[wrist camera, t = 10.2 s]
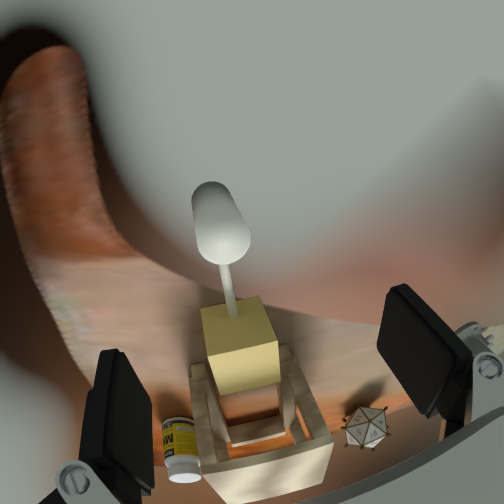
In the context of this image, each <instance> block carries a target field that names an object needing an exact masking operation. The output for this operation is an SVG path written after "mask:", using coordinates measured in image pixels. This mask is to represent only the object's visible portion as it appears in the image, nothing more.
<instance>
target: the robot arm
mask: <svg viewBox="0 0 504 504" xmlns="http://www.w3.org/2000/svg"><path fill="white" fill-rule="evenodd" d="M493 340H494V337H493V335H489V336H487V337H486V338H484V337H483V336H482V335H481V326H480V325H479V324H478V323H477V322H470V323H467V324H465V325H463V326H462V327H461V328H459V329H458V330H456V331H455V332H453V331H452V330H451V328H450V327H449V326H448V325H447V324H446V323H445V322H444V321H443V320H442V319H441V318H440V317H439V316H438V315H437V314H436V313H435V312H434V311H433V310H432V309H431V308H430V307H429V306H428V305H427V304H426V303H425V302H424V301H423V300H422V299H421V298H420V297H419V296H418V295H417V294H416V293H415V292H414V291H413V290H412V289H411V288H410V287H409V286H408V285H407V284H401V285H397V286H394V287H391V288H390V291H389V292H388V293H387V295H386V300H385V305H384V311H383V316H382V322H381V326H380V331H379V335H378V340H377V349H378V351H379V353H380V355H381V356H382V357H383V359H384V360H385V362H386V363H387V365H388V366H389V368H390V369H391V370H392V372H393V373H394V375H395V376H396V378H397V379H398V381H399V382H400V384H401V385H402V387H403V388H404V390H405V391H406V393H407V394H408V396H409V397H410V399H411V400H412V402H413V403H414V405H415V406H416V408H417V409H418V411H419V412H420V413H421V414H425V416H426V417H427V419H429V418H431V417H433V416H435V415H437V414H438V413H440V415H441V416H442V424H441V430H440V436H439V442H438V443H437V444H435V445H433V446H431V447H430V448H428V449H426V450H425V451H423V452H421V453H419V454H417V455H415V456H413V457H411V458H409V459H408V460H406V461H404V462H402V463H400V464H398V465H395V466H393V467H391V468H389V469H387V470H385V471H383V472H380V473H378V474H376V475H374V476H371V477H369V478H367V479H364V480H362V481H359V482H357V483H354V484H352V485H349V486H347V487H344V488H341V489H338V490H336V491H333V492H330V493H327V494H324V495H321V496H318V497H314V498H311V499H308V500H304V501H301V502H297V503H294V504H504V362H503V360H502V359H501V358H500V357H499V356H498V355H496V354H495V353H494V352H493V351H492V350H491V349H492V348H493V342H492V341H493ZM55 481H56V487H57V488H56V489H55V490H54V491H53V492H52V493H50V494H49V495H48V496H47V497H46V498H44V499H43V500H42V501H41V502H40V503H38V504H142V499H141V496H151V489H153V488H154V486H155V481H154V464H153V439H152V403H151V399H150V397H149V395H148V394H147V392H146V390H145V389H144V387H143V385H142V384H141V382H140V380H139V378H138V377H137V375H136V373H135V371H134V370H133V368H132V366H131V364H130V362H129V360H128V359H127V357H126V355H125V353H124V352H120V351H119V350H118V349H110V350H102V351H101V352H100V355H99V360H98V365H97V370H96V375H95V381H94V386H93V389H91V390H90V391H89V392H88V395H87V400H86V406H85V412H84V419H83V426H82V434H81V442H80V451H79V460H72V461H68V462H66V463H64V464H63V465H62V466H61V467H60V468H59V470H58V472H57V474H56V479H55Z"/></svg>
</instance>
